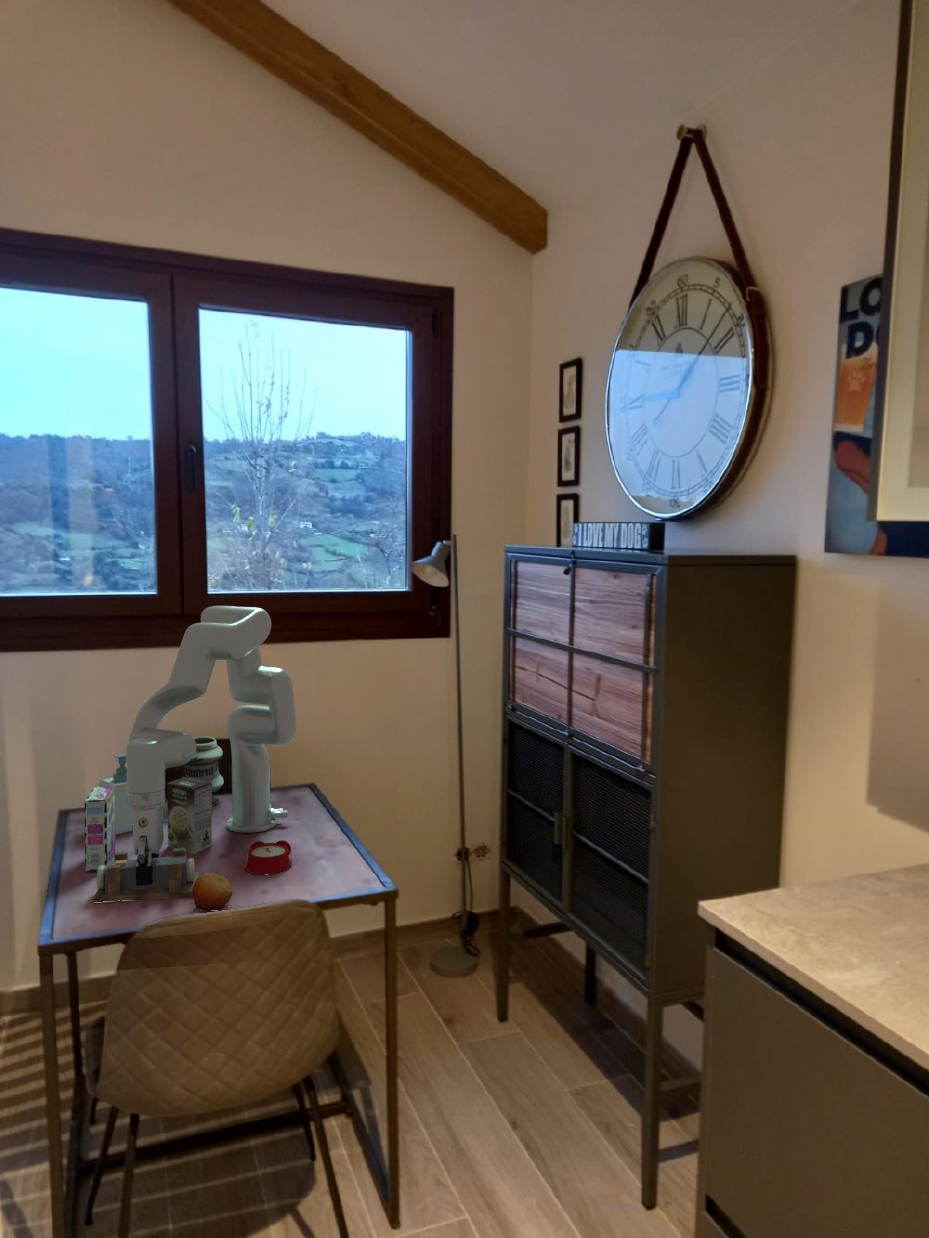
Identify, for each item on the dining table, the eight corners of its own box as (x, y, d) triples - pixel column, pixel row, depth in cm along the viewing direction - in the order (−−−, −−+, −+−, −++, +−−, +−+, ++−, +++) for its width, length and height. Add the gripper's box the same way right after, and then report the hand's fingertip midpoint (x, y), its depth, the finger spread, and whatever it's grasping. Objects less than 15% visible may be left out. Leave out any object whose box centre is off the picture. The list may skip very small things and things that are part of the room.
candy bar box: (108, 871, 192) (106, 799, 190) (84, 872, 191) (82, 801, 189) (117, 852, 203) (115, 785, 201) (94, 854, 202) (92, 786, 200)
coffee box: (166, 847, 207) (165, 782, 205) (186, 839, 213) (185, 776, 211) (194, 854, 203) (193, 788, 201) (213, 845, 208) (213, 781, 207)
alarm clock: (242, 863, 189) (248, 825, 203) (243, 887, 191) (249, 848, 205) (290, 861, 191) (293, 824, 205) (290, 884, 193) (293, 846, 207)
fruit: (187, 893, 178) (207, 861, 177) (221, 911, 179) (241, 879, 178) (178, 910, 170) (198, 876, 169) (213, 929, 171) (234, 895, 170)
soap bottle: (148, 827, 221) (146, 754, 219) (114, 835, 214) (112, 760, 212) (132, 819, 227) (131, 748, 225) (99, 826, 220) (97, 754, 218)
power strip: (194, 876, 187) (193, 851, 186) (193, 885, 182) (192, 860, 181) (100, 884, 182) (100, 858, 181) (97, 893, 177) (96, 867, 177)
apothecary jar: (181, 811, 233) (180, 746, 232) (176, 798, 244) (175, 736, 243) (227, 806, 238) (226, 742, 237) (220, 793, 249) (219, 733, 248)
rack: (199, 877, 189) (199, 846, 188) (195, 896, 179) (194, 863, 179) (103, 884, 185) (102, 851, 184) (93, 903, 175) (92, 869, 174)
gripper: (159, 809, 172) (161, 890, 174) (170, 784, 189) (171, 859, 191) (119, 811, 171) (121, 893, 173) (134, 785, 188) (136, 861, 189)
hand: (148, 875), depth 182 cm, fingers open, 9 cm apart
